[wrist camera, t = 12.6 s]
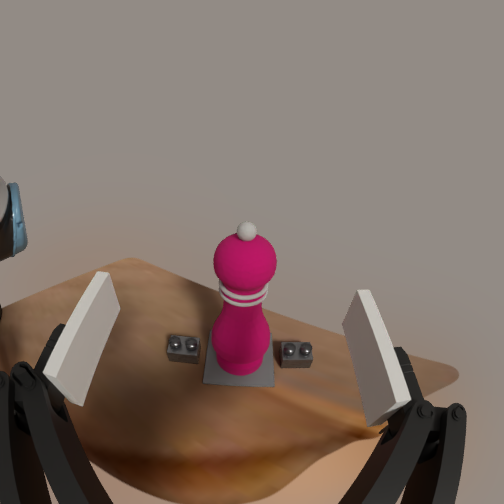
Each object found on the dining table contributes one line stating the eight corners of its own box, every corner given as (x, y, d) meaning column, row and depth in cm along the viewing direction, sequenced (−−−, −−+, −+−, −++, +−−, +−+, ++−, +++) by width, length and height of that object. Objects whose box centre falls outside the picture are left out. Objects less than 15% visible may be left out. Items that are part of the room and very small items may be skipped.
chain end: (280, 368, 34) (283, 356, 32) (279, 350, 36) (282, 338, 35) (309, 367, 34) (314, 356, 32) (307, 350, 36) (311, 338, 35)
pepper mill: (275, 350, 36) (301, 219, 25) (248, 388, 30) (263, 255, 20) (232, 329, 39) (235, 200, 28) (202, 362, 33) (188, 226, 22)
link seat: (203, 383, 31) (202, 382, 31) (210, 331, 38) (210, 329, 38) (274, 386, 31) (274, 385, 31) (271, 334, 39) (271, 333, 39)
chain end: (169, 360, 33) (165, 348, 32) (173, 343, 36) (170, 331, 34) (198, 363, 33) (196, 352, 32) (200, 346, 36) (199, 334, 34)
